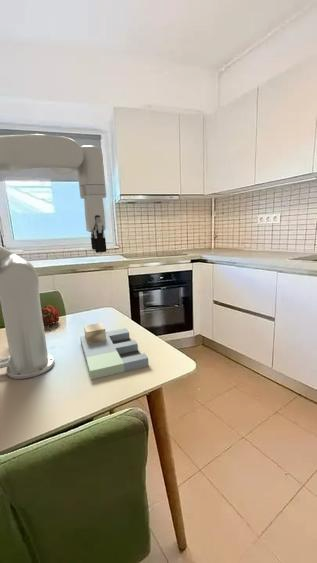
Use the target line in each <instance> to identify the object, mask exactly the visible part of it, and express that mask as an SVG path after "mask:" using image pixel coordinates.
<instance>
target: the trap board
mask: <svg viewBox="0 0 317 563" xmlns="http://www.w3.org/2000/svg"><path fill="white" fill-rule="evenodd" d="M105 332H106V340H105V341H100V342H95V343H90V344H87V341H86V338H85V335H83V336H79V338H80V346H81V349H82V353H83V356H84V359H85V363H86V366H87V370H88V374H89V377H90V380H95V379H99V378H104V377H108V376H112V375H116V374H121V373H125V372H129V371H133V370H137V369H142V368H145V367H149V357H148V356H147V354H146V353H145V352H144V353H141V352H140V351H139V345H138V344H139V343H138V342H137V341H136V340H135V339H133V340H132V339H131V338H130V331H129V330H128V329H127V327H125V328H120V329H116V330H115V329H114V330H110V331H105Z"/></svg>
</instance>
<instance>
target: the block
mask: <svg viewBox="0 0 317 563" xmlns="http://www.w3.org/2000/svg"><path fill="white" fill-rule="evenodd" d="M83 330H84V336H85V338H86V341H87V344H90V343H95V342H100V341H105V340H106V332H107V331H106V328H105V326H104V324H103V322H98V323H93V324H87V325H84V326H83Z"/></svg>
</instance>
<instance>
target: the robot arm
mask: <svg viewBox="0 0 317 563" xmlns="http://www.w3.org/2000/svg"><path fill="white" fill-rule="evenodd" d="M104 166H105V165H104V158H103V151H102V149H101V148H100V147H99V146H96V145H80V144H79V142H77V141H76V140H74V139H72V138H70V137H66V136H60V135H52V134H51V135H50V134H41V133H40V134H39V133H35V134H33V133H30V134H29V133H28V134H12V135H0V174H4V175H5V174H14V173H19V172H22V171H25V170H26V171H27V170H31V169H41V168H42V169H49V170H50V171H51V172H52V173H54V174H55V175H59V176H69V175H77V178H78V188H79V194H80V195H79V196H80V199H83V201H84V202H83V204H84V205H83V206H84V216H85V225H86V226H85V228H86V231H87V232H89V233H90V243H91V250H94V252H95V253H96V254H98V253H106V252H107V243H106V242H107V240H106V236H105V231H106V216H105V215H106V214H105V206H104V199H105V198H107V187H106V180H105V179H106V178H105V176H106V175H105V167H104ZM39 282H40V281H39V276H38V273H37V270H36V268H35V267H34V265H33V264H32V263H31V262H29V261H28V260H26V259H24V258H23V257H21V256H19V255H17V254H15V253H14V252H12V251H10V250H9V249H7V248H5V247H3V246H2V245H0V306H1V312H2V318H3V324H4V327H5V328H4V329H5V332H6V333H5V335H6V340H7V346H8V351H9V355H8V356H6V357H4V358H0V369H3V368H6V369H5V370H6V375H7V377H9V378H11V379H16V380H17V379H19V380H21V379H22V380H24V379H29V378H34V377H37V376H39V375H42V374H44V373H45V372H47V371H49V370H51V368H53V366H54V364H55V358H54V356H53V355H52V354H49V352H48V348H47V341H46V334H45V326H44V325H45V324H43V318H42V312H41V309H42V306H41V298H40V283H39Z"/></svg>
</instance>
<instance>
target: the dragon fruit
mask: <svg viewBox="0 0 317 563" xmlns="http://www.w3.org/2000/svg"><path fill="white" fill-rule="evenodd" d="M41 312H42V318H43V325H46V326H52V325H54V323H55V324H56V323H58V322H59V321H60V310H59V309H58V308H57V307H56V306H53V305H51V304H47V305H46V306H44V307H41Z"/></svg>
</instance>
